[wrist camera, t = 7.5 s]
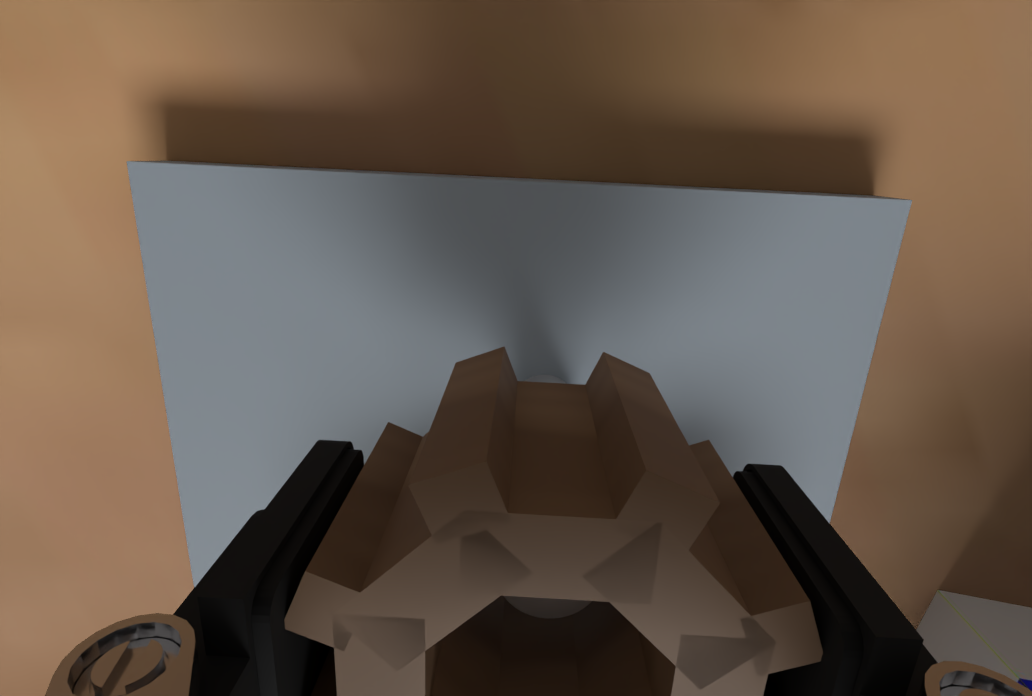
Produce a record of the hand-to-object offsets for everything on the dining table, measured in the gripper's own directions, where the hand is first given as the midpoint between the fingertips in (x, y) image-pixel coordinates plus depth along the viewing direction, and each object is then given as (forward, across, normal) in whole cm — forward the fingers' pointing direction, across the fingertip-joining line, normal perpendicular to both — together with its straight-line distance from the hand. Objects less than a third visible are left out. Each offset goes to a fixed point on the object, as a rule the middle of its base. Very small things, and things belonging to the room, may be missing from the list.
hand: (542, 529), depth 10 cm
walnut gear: (+1, 0, 0) cm, 1 cm away
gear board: (+7, +1, +4) cm, 8 cm away
